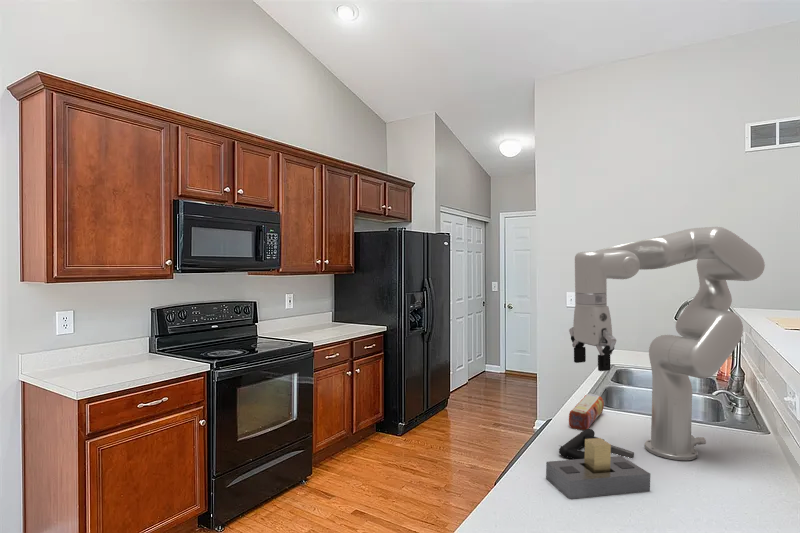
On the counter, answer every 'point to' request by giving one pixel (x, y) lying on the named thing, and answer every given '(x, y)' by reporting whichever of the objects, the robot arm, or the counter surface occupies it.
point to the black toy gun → (577, 442)
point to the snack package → (586, 412)
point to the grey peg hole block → (597, 478)
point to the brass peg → (597, 455)
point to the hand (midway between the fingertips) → (591, 366)
